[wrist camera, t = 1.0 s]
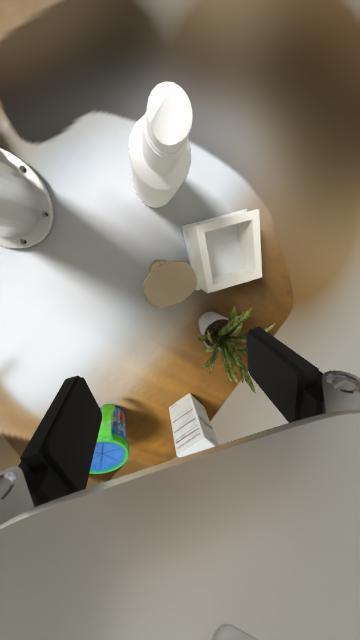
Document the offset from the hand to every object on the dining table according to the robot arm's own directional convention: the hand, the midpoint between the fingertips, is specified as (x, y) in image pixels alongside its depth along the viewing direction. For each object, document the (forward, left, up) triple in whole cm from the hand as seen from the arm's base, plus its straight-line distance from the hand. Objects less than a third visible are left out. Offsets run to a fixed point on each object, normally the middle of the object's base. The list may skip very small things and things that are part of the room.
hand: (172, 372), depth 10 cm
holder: (-2, +14, -28) cm, 31 cm away
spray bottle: (-15, +5, -28) cm, 32 cm away
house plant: (+14, +11, -28) cm, 33 cm away
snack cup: (+29, -20, -28) cm, 45 cm away
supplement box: (+35, -1, -28) cm, 45 cm away
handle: (-2, +2, -28) cm, 28 cm away
